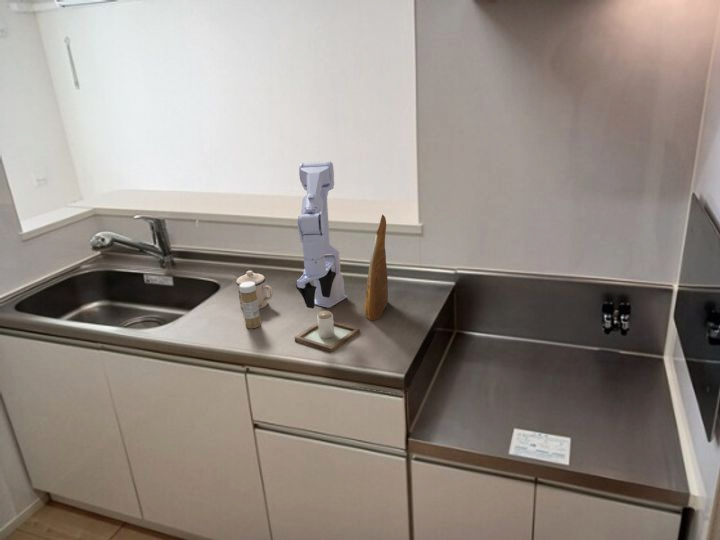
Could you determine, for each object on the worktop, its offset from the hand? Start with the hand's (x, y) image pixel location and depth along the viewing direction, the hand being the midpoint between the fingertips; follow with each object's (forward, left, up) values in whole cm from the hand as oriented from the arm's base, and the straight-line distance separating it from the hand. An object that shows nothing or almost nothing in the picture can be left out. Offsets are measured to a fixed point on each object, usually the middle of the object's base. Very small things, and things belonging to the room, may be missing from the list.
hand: (318, 302), depth 159 cm
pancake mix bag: (-20, +6, -10) cm, 23 cm away
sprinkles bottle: (+7, -21, -10) cm, 24 cm away
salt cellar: (+1, +3, -9) cm, 9 cm away
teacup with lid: (-4, -30, -10) cm, 31 cm away
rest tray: (+1, +3, -9) cm, 10 cm away
